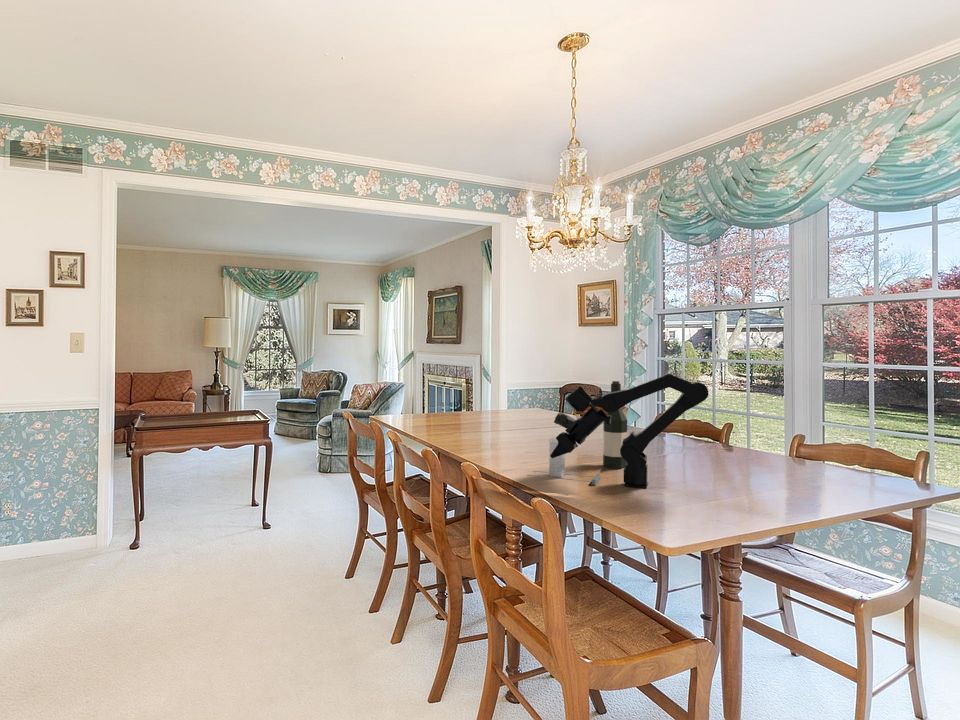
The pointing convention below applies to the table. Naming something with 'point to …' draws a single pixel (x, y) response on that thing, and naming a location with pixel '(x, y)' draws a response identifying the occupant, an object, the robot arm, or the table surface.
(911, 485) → the table surface
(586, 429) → the robot arm
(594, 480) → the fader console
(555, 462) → the post
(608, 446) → the wine bottle
